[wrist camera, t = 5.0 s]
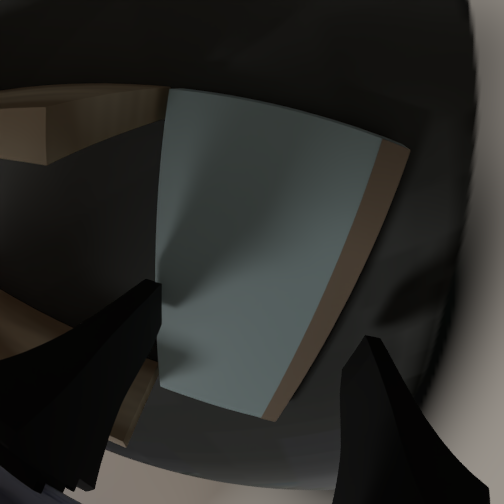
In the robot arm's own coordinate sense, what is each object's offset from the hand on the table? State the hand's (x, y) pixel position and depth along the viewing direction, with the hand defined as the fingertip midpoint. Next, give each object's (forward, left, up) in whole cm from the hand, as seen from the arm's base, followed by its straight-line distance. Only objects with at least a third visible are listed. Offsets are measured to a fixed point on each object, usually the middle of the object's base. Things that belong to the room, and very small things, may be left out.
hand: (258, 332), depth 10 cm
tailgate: (0, +4, 0) cm, 4 cm away
